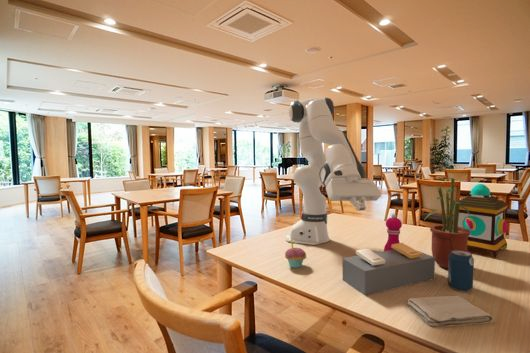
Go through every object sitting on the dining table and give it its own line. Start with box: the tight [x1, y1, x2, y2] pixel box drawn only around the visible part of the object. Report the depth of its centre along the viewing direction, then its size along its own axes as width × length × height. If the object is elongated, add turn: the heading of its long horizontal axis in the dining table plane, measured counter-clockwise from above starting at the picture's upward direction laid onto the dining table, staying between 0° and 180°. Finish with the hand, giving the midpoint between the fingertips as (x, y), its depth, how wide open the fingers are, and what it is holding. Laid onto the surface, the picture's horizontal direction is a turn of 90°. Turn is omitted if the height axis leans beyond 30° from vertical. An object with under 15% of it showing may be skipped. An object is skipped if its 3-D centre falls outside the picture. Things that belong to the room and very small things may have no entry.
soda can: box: [447, 250, 475, 292], centre depth 97 cm, size 7×7×12 cm
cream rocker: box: [355, 248, 385, 266], centre depth 100 cm, size 9×5×1 cm, turn 20°
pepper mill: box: [383, 213, 403, 251], centre depth 119 cm, size 7×7×20 cm
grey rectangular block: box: [342, 249, 436, 296], centre depth 104 cm, size 12×30×9 cm, turn 110°
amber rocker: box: [391, 242, 423, 259], centre depth 106 cm, size 9×5×1 cm, turn 20°
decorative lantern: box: [452, 183, 509, 259], centre depth 131 cm, size 20×20×30 cm
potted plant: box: [423, 177, 470, 270], centre depth 115 cm, size 17×16×35 cm
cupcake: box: [284, 239, 307, 269], centre depth 118 cm, size 9×8×12 cm
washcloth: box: [407, 295, 494, 327], centre depth 82 cm, size 12×18×3 cm, turn 97°
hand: (361, 209), depth 100 cm, fingers closed
